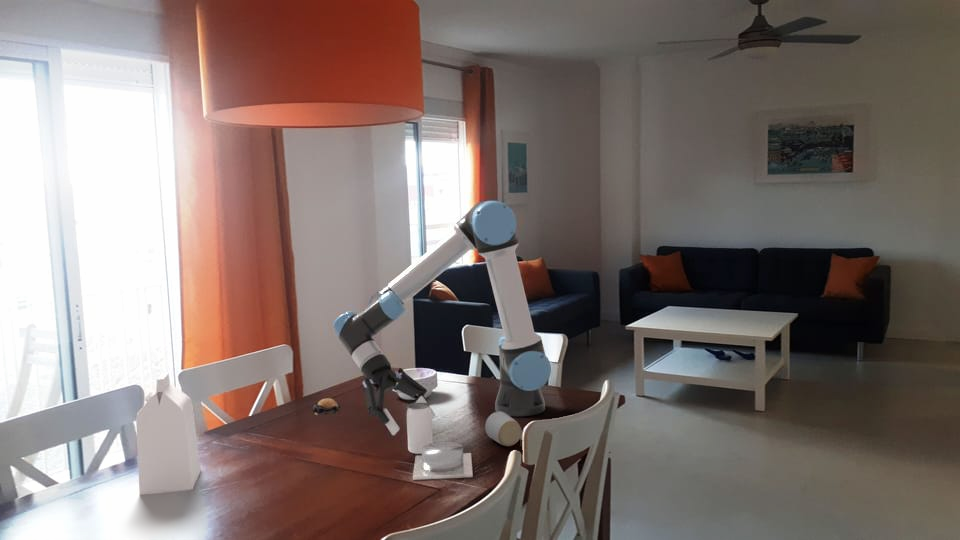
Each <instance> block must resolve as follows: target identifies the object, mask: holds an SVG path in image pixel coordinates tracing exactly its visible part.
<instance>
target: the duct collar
mask: <svg viewBox="0 0 960 540" xmlns="http://www.w3.org/2000/svg"><path fill="white" fill-rule="evenodd" d="M412 472H413V474H412V481H421V480H425V481H426V480H442V479H462V478H464V479H465V478H473V463H472V453H471V452H468V453H467V452H465V453H464V446H463V445H462V444H460V443H458V442H455V441H436V442H433V443H431V444H428V445H426V446H424V447H423V448H422V454H418V455H415V458H414V465H413V471H412Z"/></svg>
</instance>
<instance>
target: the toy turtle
mask: <svg viewBox="0 0 960 540" xmlns="http://www.w3.org/2000/svg"><path fill="white" fill-rule="evenodd" d="M312 412H313V413H314V415H317V416H318V415H330V414H337V413H339V412H340V403H339V402H338V401H336V400H334V399H333V398H331V397H330V398H329V397H328V398H327V397H326V398H322V399H320V400H319V401H316V402H315V403H314V404H313V407H312Z"/></svg>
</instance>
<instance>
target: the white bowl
mask: <svg viewBox="0 0 960 540" xmlns="http://www.w3.org/2000/svg"><path fill="white" fill-rule="evenodd" d="M402 370H403V371H404V372H405V373H406V374H407V375H408V376H410V377H411V378H412V379H413V380H415V381H416V382H417V383H419V384H420V385H421V386H423V387H424V388H425V389H426V390H427V392H426V393H425V394H424V397H425V398H426V399H427V398H428V397H430V396H431V394H432V392H433V390H435V389H436V388H437V387H438V373H437V371H436V370H435V369H431V368H426V367H425V368H424V367H415V368H405V369H402ZM397 384H398V382H397ZM397 384H396V385H397ZM392 392H395V393H397V395H398V396H399V398H401V399H402V400H405V401H406V400H407V401H417V400H416V399H414V398H412V397H410V396H408V395H406V394H404V393H402V392H401V391H399V390H394V389H393V390H392ZM416 395H417V394H416ZM417 396H418V395H417Z"/></svg>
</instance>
